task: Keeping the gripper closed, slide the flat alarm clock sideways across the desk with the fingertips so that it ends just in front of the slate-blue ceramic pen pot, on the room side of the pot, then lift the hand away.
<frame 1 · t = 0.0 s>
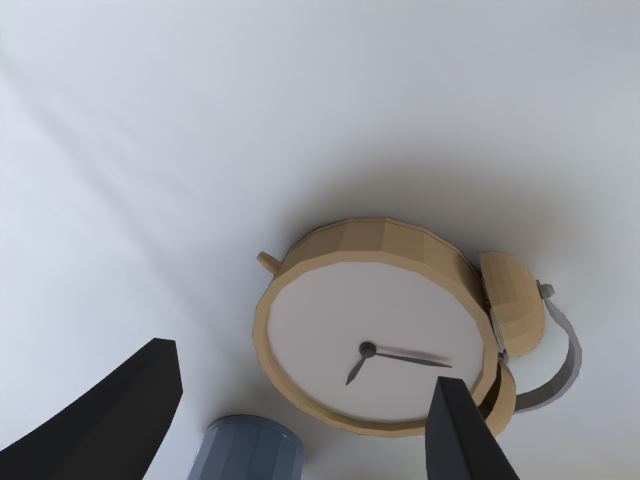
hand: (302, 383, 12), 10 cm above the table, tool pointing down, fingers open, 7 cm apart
pen pot: (254, 449, 30), on the table
alarm clock: (406, 310, 23), on the table
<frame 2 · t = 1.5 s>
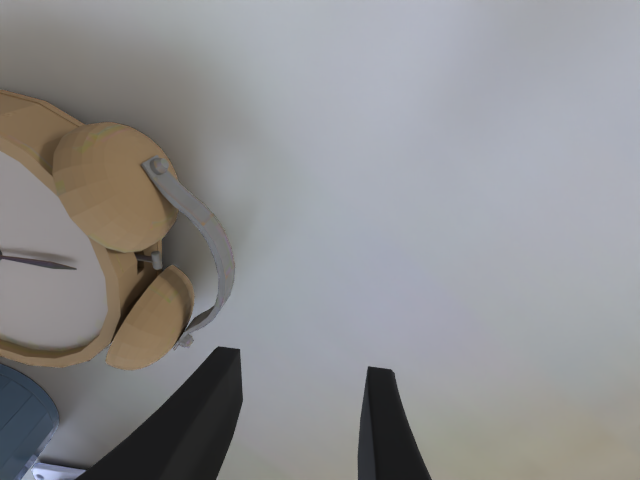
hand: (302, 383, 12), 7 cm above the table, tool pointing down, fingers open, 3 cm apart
pen pot: (3, 401, 27), on the table
alarm clock: (88, 219, 19), on the table
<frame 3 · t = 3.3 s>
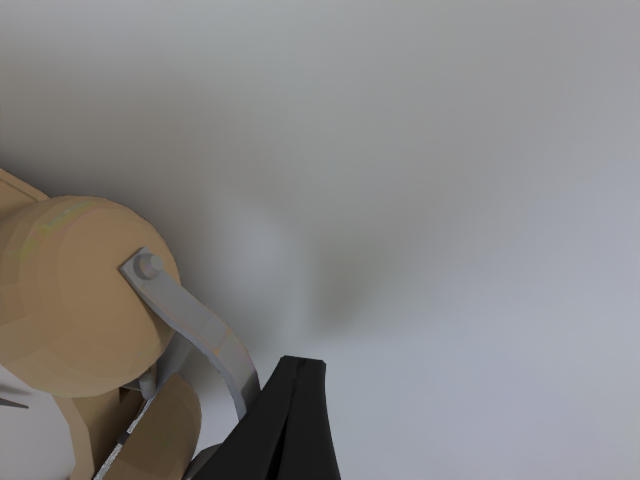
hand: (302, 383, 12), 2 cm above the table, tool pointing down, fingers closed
alarm clock: (56, 306, 14), on the table, touching gripper
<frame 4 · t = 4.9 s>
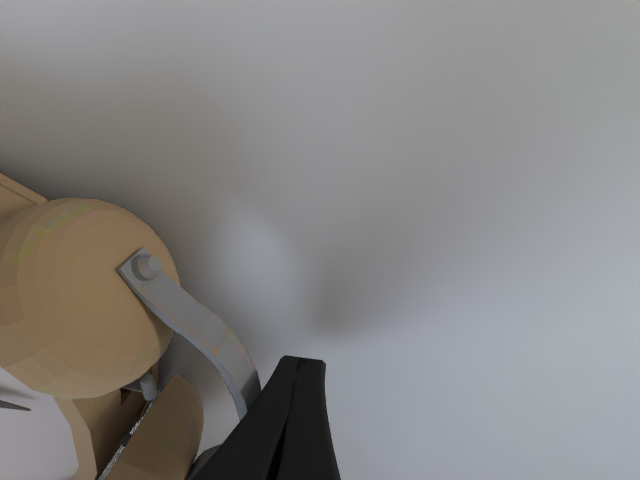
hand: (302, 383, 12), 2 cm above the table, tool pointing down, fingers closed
alarm clock: (58, 309, 14), on the table, touching gripper
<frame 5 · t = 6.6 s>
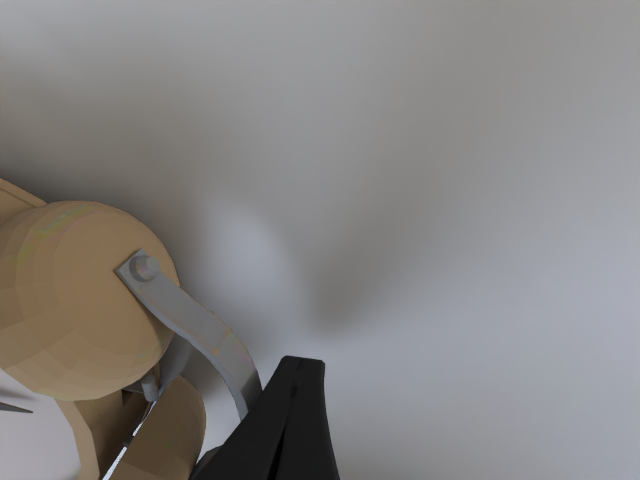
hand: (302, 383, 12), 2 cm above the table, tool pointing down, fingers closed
alarm clock: (59, 312, 14), on the table, touching gripper
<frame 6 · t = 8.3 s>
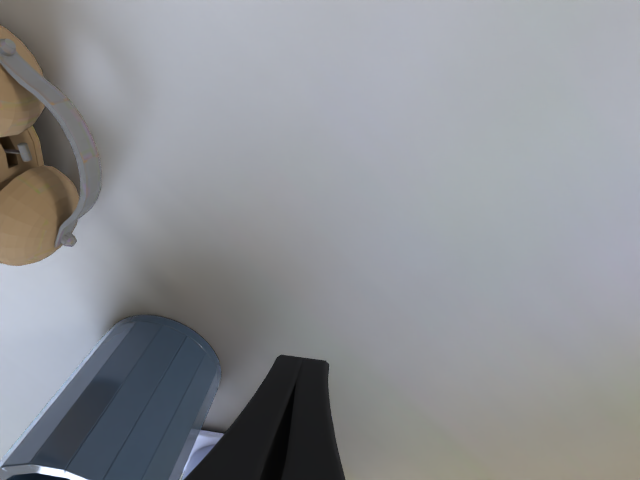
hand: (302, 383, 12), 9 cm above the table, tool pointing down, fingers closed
pen pot: (163, 361, 26), on the table
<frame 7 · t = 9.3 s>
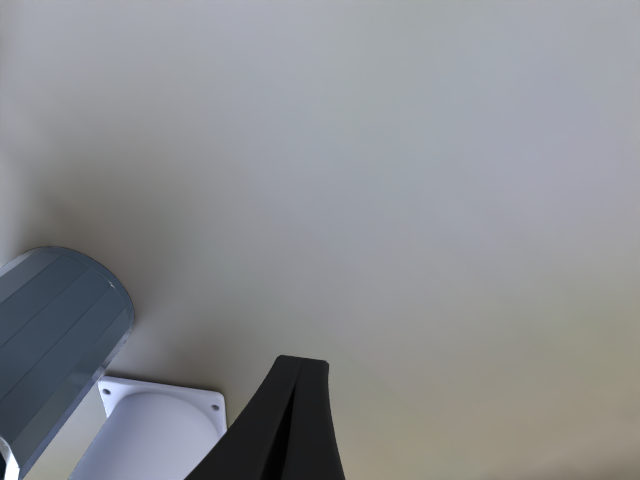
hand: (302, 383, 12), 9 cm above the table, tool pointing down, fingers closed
pen pot: (73, 301, 25), on the table
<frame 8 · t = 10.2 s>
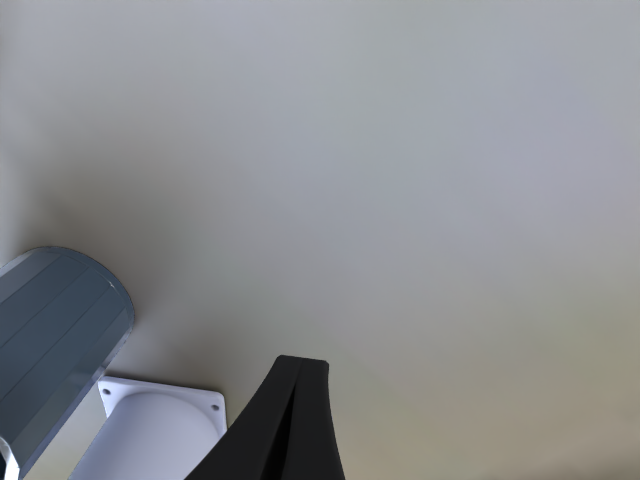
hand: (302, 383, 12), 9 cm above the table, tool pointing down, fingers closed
pen pot: (73, 301, 25), on the table
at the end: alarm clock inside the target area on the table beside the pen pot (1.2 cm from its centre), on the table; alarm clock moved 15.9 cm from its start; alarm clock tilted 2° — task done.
